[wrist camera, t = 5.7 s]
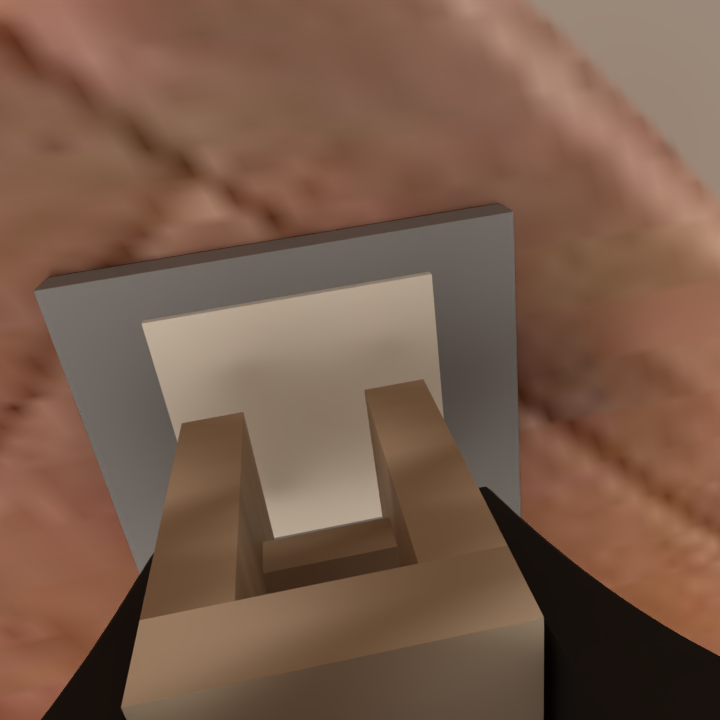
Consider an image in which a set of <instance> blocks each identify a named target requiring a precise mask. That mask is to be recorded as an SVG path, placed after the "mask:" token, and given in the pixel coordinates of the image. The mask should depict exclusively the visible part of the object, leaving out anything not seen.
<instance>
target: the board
mask: <svg viewBox="0 0 720 720" xmlns="http://www.w3.org/2000/svg"><path fill="white" fill-rule="evenodd" d="M34 293H35V296H36V299H37V301H38V304H39V307H40V309H41V312H42V315H43V317H44V320H45V323H46V325H47V328H48V331H49V333H50V336H51V339H52V341H53V344H54V347H55V349H56V352H57V355H58V357H59V360H60V363H61V365H62V368H63V371H64V373H65V376H66V379H67V381H68V384H69V387H70V389H71V392H72V395H73V397H74V400H75V403H76V405H77V408H78V411H79V413H80V416H81V419H82V421H83V424H84V427H85V429H86V432H87V435H88V437H89V440H90V443H91V445H92V448H93V451H94V453H95V456H96V459H97V461H98V464H99V467H100V469H101V472H102V475H103V477H104V480H105V483H106V485H107V488H108V491H109V493H110V496H111V499H112V501H113V504H114V507H115V509H116V512H117V515H118V518H119V520H120V523H121V526H122V528H123V531H124V534H125V536H126V539H127V542H128V544H129V547H130V550H131V552H132V555H133V558H134V560H135V563H136V566H137V568H138V571H139V574H140V573H141V571H142V570H143V568H144V567H145V565H146V563H147V562H148V560H149V558H150V557H151V556H152V554H153V553H154V550H155V546H156V541H157V536H158V532H159V527H160V522H161V518H162V513H163V508H164V504H165V499H166V494H167V490H168V485H169V480H170V475H171V471H172V466H173V461H174V457H175V452H176V447H177V443H178V438H179V433H180V429H181V424H182V423H186V422H191V421H197V420H202V419H208V418H213V417H218V416H224V415H229V414H235V413H240V412H243V413H244V417H245V421H246V425H247V429H248V433H249V437H250V441H251V445H252V449H253V453H254V457H255V462H256V466H257V470H258V474H259V478H260V482H261V486H262V490H263V494H264V498H265V502H266V506H267V510H268V514H269V519H270V523H271V527H272V531H273V535H274V539H275V540H276V539H281V538H286V537H291V536H296V535H301V534H306V533H311V532H316V531H321V530H326V529H331V528H337V527H342V526H347V525H352V524H357V523H362V522H367V521H372V520H377V519H382V511H381V504H380V497H379V490H378V483H377V476H376V469H375V462H374V455H373V448H372V441H371V434H370V427H369V420H368V413H367V406H366V399H365V392H364V390H366V389H372V388H377V387H383V386H388V385H394V384H399V383H405V382H410V381H416V380H421V379H424V381H425V383H426V385H427V387H428V389H429V391H430V393H431V395H432V397H433V399H434V401H435V403H436V405H437V407H438V409H439V411H440V413H441V415H442V417H443V419H444V421H445V423H446V425H447V427H448V429H449V431H450V433H451V435H452V437H453V439H454V441H455V443H456V445H457V447H458V449H459V450H460V452H461V454H462V456H463V458H464V460H465V462H466V464H467V466H468V468H469V470H470V472H471V474H472V476H473V478H474V480H475V482H476V484H477V486H478V488H480V487H485V486H486V487H488V488H489V489H490V490H492V491H493V492H494V493H495V494H496V495H497V496H498V497H499V498H500V499H501V500H502V501H503V502H504V503H505V504H507V505H508V506H509V507H510V508H511V509H512V510H513V511H514V512H515V513H516V514H517V515H518V516H520V517H521V505H520V463H519V422H518V380H517V338H516V297H515V255H514V213H513V211H511V210H510V209H508V208H506V207H504V206H503V205H501V204H499V203H498V204H492V205H486V206H480V207H474V208H468V209H462V210H456V211H450V212H444V213H438V214H431V215H425V216H419V217H413V218H407V219H401V220H395V221H389V222H383V223H377V224H371V225H364V226H358V227H352V228H346V229H340V230H334V231H328V232H322V233H316V234H310V235H304V236H297V237H291V238H285V239H279V240H273V241H267V242H261V243H255V244H249V245H243V246H237V247H230V248H224V249H218V250H212V251H206V252H200V253H194V254H188V255H182V256H176V257H170V258H164V259H157V260H151V261H145V262H139V263H133V264H127V265H121V266H115V267H109V268H103V269H97V270H90V271H84V272H78V273H72V274H66V275H60V276H54V277H48V278H46V279H45V280H44V281H43V282H42V283H41V284H40V285H39V286H38V287H37V288H36V289H35V290H34Z"/></svg>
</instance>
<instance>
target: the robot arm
mask: <svg viewBox="0 0 720 720" xmlns="http://www.w3.org/2000/svg"><path fill="white" fill-rule="evenodd" d="M479 490H480V492H481V494H482V496H483V498H484V500H485V502H486V504H487V506H488V508H489V510H490V512H491V514H492V516H493V518H494V520H495V522H496V524H497V526H498V528H499V530H500V532H501V533H502V535H503V537H504V539H505V541H506V543H507V545H508V547H509V549H510V551H511V553H512V555H513V557H514V559H515V561H516V563H517V565H518V567H519V569H520V571H521V573H522V575H523V577H524V579H525V581H526V583H527V585H528V587H529V589H530V591H531V593H532V595H533V597H534V599H535V601H536V603H537V605H538V607H539V609H540V611H541V613H542V615H543V616H544V720H720V656H718V655H716V654H714V653H713V652H711V651H709V650H707V649H705V648H703V647H701V646H699V645H697V644H696V643H694V642H692V641H690V640H688V639H687V638H685V637H683V636H681V635H680V634H678V633H676V632H674V631H673V630H671V629H669V628H668V627H666V626H664V625H663V624H661V623H660V622H658V621H656V620H655V619H653V618H652V617H650V616H648V615H647V614H645V613H644V612H642V611H641V610H639V609H637V608H636V607H634V606H633V605H631V604H630V603H629V602H627V601H626V600H624V599H623V598H621V597H620V596H618V595H617V594H615V593H614V592H613V591H611V590H610V589H608V588H607V587H606V586H604V585H603V584H602V583H600V582H599V581H598V580H596V579H595V578H593V577H592V576H591V575H589V574H588V573H587V572H585V571H584V570H583V569H582V568H580V567H579V566H578V565H576V564H575V563H574V562H573V561H571V560H570V559H569V558H568V557H566V556H565V555H564V554H563V553H562V552H560V551H559V550H558V549H557V548H555V547H554V546H553V545H552V544H551V543H549V542H548V541H547V540H546V539H545V538H543V537H542V536H541V535H540V534H539V533H538V532H536V531H535V530H534V529H533V528H532V527H531V526H530V525H528V524H527V523H526V522H525V521H524V520H523V519H522V518H521V517H520V516H518V515H517V514H516V513H515V512H514V511H513V510H512V509H511V508H510V507H509V506H508V505H507V504H505V503H504V502H503V501H502V500H501V499H500V498H499V497H498V496H497V495H496V494H495V493H494V492H493V491H492V490H490V489H489V488H488V487H486V486H485V487H480V488H479ZM153 555H154V553H153V554H152V556H151V557H150V558H149V560H148V562H147V563H146V565H145V567H144V568H143V570H142V571H141V573H140V575H139V576H138V578H137V580H136V581H135V583H134V585H133V586H132V588H131V589H130V591H129V593H128V594H127V596H126V598H125V599H124V601H123V602H122V604H121V606H120V607H119V609H118V610H117V612H116V614H115V615H114V617H113V618H112V620H111V621H110V623H109V624H108V626H107V627H106V629H105V630H104V632H103V633H102V635H101V636H100V638H99V639H98V641H97V643H96V644H95V646H94V647H93V649H92V650H91V652H90V653H89V655H88V656H87V657H86V659H85V660H84V662H83V663H82V665H81V666H80V667H79V669H78V670H77V672H76V673H75V674H74V676H73V677H72V678H71V680H70V681H69V683H68V684H67V685H66V687H65V688H64V689H63V691H62V692H61V694H60V695H59V696H58V698H57V699H56V701H55V702H54V703H53V705H52V706H51V707H50V709H49V710H48V711H47V712H46V714H45V715H44V716H43V718H42V719H41V720H126V718H125V715H124V713H123V711H122V709H121V705H122V700H123V696H124V691H125V686H126V682H127V677H128V672H129V668H130V663H131V658H132V654H133V649H134V644H135V640H136V635H137V630H138V625H139V621H140V616H141V611H142V607H143V602H144V597H145V593H146V588H147V583H148V579H149V574H150V569H151V565H152V560H153Z"/></svg>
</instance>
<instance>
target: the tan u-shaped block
mask: <svg viewBox="0 0 720 720" xmlns="http://www.w3.org/2000/svg"><path fill="white" fill-rule="evenodd" d="M364 392H365V399H366V406H367V413H368V420H369V427H370V434H371V441H372V448H373V455H374V462H375V469H376V476H377V483H378V490H379V497H380V504H381V511H382V519H377V520H372V521H367V522H362V523H357V524H352V525H347V526H342V527H337V528H331V529H326V530H321V531H316V532H311V533H306V534H301V535H296V536H291V537H286V538H281V539H276V540H275V539H274V535H273V531H272V527H271V523H270V519H269V514H268V510H267V506H266V502H265V498H264V494H263V490H262V486H261V482H260V478H259V474H258V470H257V466H256V462H255V457H254V453H253V449H252V445H251V441H250V437H249V433H248V429H247V425H246V421H245V417H244V413H243V412H240V413H235V414H229V415H224V416H218V417H213V418H208V419H202V420H197V421H191V422H186V423H182V424H181V429H180V433H179V438H178V443H177V447H176V452H175V457H174V461H173V466H172V471H171V475H170V480H169V485H168V490H167V494H166V499H165V504H164V508H163V513H162V518H161V522H160V527H159V532H158V536H157V541H156V546H155V550H154V555H153V560H152V565H151V569H150V574H149V579H148V583H147V588H146V593H145V597H144V602H143V607H142V611H141V616H140V621H139V625H138V630H137V635H136V640H135V644H134V649H133V654H132V658H131V663H130V668H129V672H128V677H127V682H126V686H125V691H124V696H123V700H122V705H121V709H122V711H123V713H124V715H125V718H126V720H544V616H543V615H542V613H541V611H540V609H539V607H538V605H537V603H536V601H535V599H534V597H533V595H532V593H531V591H530V589H529V587H528V585H527V583H526V581H525V579H524V577H523V575H522V573H521V571H520V569H519V567H518V565H517V563H516V561H515V559H514V557H513V555H512V553H511V551H510V549H509V547H508V545H507V543H506V541H505V539H504V537H503V535H502V533H501V532H500V530H499V528H498V526H497V524H496V522H495V520H494V518H493V516H492V514H491V512H490V510H489V508H488V506H487V504H486V502H485V500H484V498H483V496H482V494H481V492H480V490H479V488H478V486H477V484H476V482H475V480H474V478H473V476H472V474H471V472H470V470H469V468H468V466H467V464H466V462H465V460H464V458H463V456H462V454H461V452H460V450H459V449H458V447H457V445H456V443H455V441H454V439H453V437H452V435H451V433H450V431H449V429H448V427H447V425H446V423H445V421H444V419H443V417H442V415H441V413H440V411H439V409H438V407H437V405H436V403H435V401H434V399H433V397H432V395H431V393H430V391H429V389H428V387H427V385H426V383H425V381H424V379H421V380H416V381H410V382H405V383H399V384H394V385H388V386H383V387H377V388H372V389H366V390H364Z"/></svg>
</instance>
